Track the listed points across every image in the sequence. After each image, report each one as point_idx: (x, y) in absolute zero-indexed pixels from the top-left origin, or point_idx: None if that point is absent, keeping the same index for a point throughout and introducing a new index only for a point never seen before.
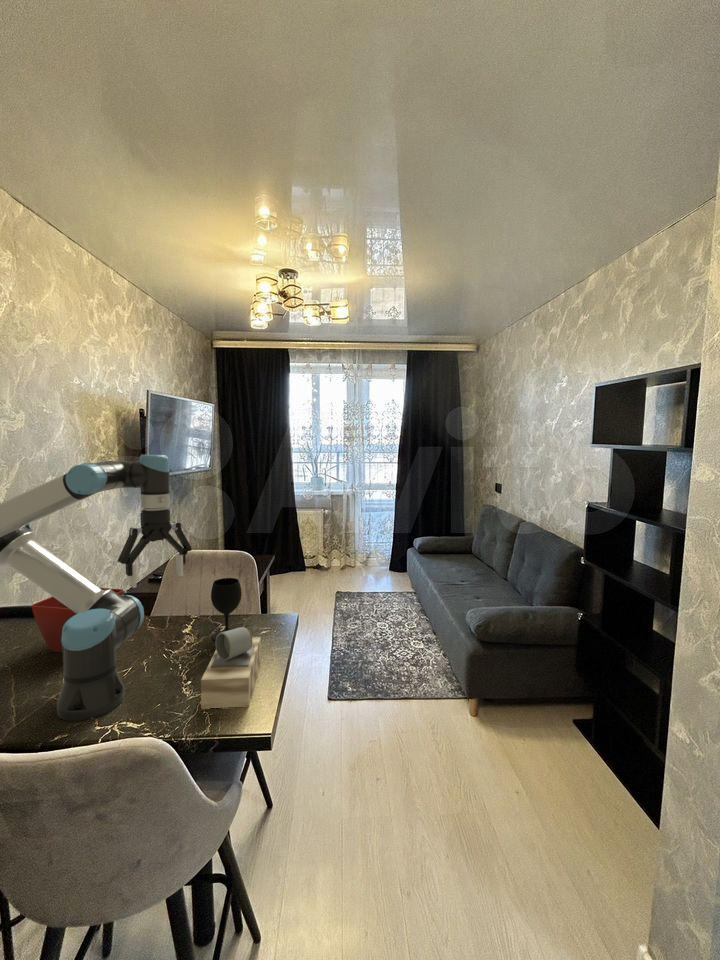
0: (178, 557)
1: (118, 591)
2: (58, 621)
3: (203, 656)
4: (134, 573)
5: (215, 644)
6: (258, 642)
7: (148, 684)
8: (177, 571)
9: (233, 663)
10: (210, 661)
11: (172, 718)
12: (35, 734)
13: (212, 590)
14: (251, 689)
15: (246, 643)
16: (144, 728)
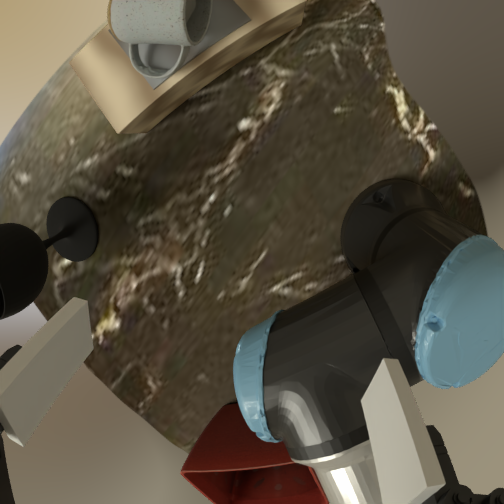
0: (21, 408)
1: (188, 474)
2: None
3: (151, 194)
4: (419, 428)
5: (193, 43)
6: (92, 40)
7: (299, 196)
8: (80, 353)
9: None
10: (228, 44)
11: (351, 51)
12: None
13: (20, 296)
14: None
15: None
16: (396, 76)
